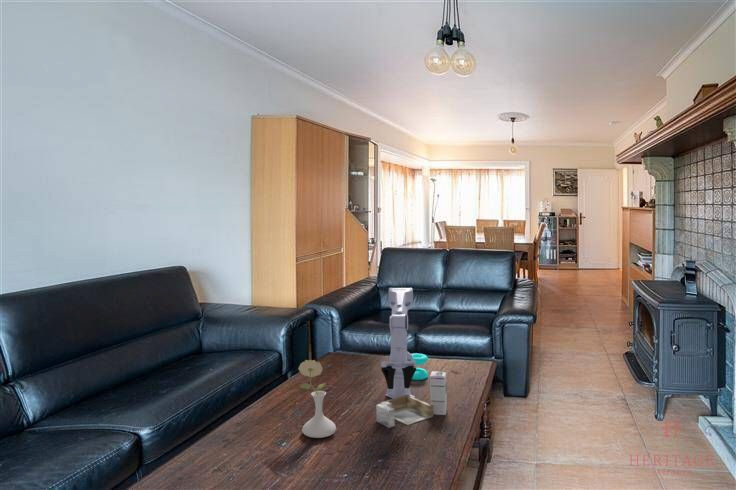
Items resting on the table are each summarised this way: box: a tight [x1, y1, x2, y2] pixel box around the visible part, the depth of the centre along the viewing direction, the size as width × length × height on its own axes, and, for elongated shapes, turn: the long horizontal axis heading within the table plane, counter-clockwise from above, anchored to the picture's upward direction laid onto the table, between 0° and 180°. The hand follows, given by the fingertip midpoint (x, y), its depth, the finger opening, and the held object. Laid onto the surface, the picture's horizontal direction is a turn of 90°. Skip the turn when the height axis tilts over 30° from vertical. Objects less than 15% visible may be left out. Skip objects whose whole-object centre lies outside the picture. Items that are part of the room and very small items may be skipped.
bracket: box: [375, 402, 396, 429], centre depth 172 cm, size 7×5×6 cm
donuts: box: [407, 352, 429, 381], centre depth 221 cm, size 10×10×10 cm
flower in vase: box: [297, 359, 337, 439], centre depth 163 cm, size 13×11×25 cm
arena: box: [379, 395, 434, 427], centre depth 178 cm, size 15×13×4 cm
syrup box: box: [429, 370, 448, 416], centre depth 181 cm, size 6×6×14 cm
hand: (398, 388), depth 169 cm, fingers open, 7 cm apart
